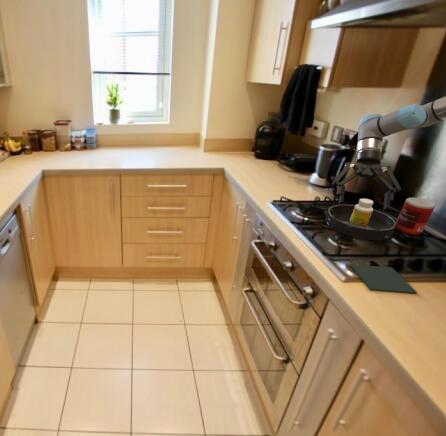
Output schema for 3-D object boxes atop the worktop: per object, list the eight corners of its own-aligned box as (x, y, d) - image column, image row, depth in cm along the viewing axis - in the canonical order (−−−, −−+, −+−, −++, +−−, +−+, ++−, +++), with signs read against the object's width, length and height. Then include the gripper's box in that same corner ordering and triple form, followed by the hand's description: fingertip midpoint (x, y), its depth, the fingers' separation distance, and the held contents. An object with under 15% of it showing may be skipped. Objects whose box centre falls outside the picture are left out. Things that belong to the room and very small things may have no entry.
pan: (372, 215, 123) (376, 205, 121) (405, 242, 105) (410, 232, 103) (316, 212, 126) (319, 203, 124) (339, 238, 108) (343, 228, 106)
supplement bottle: (346, 225, 115) (355, 200, 111) (350, 220, 119) (359, 196, 114) (364, 230, 112) (374, 205, 107) (367, 224, 115) (377, 200, 111)
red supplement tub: (420, 228, 113) (433, 200, 108) (423, 237, 107) (437, 209, 102) (393, 222, 117) (405, 195, 112) (394, 231, 111) (407, 203, 106)
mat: (391, 268, 93) (391, 267, 93) (416, 294, 83) (417, 292, 83) (350, 266, 94) (351, 264, 94) (370, 290, 85) (370, 288, 85)
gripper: (404, 162, 117) (401, 215, 112) (327, 155, 126) (320, 204, 121) (415, 152, 110) (412, 208, 105) (332, 145, 119) (326, 196, 114)
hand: (363, 206), depth 113 cm, fingers open, 13 cm apart
